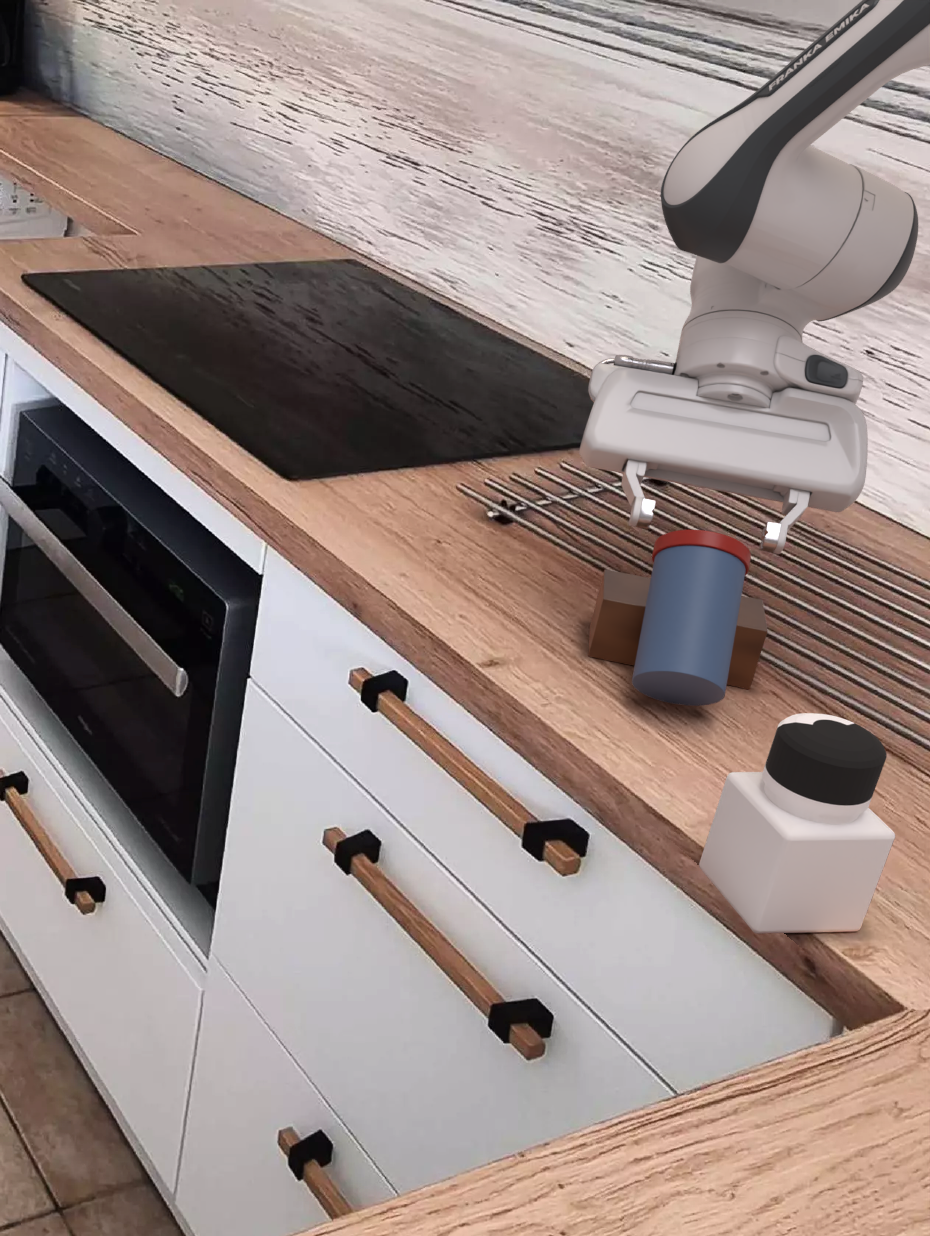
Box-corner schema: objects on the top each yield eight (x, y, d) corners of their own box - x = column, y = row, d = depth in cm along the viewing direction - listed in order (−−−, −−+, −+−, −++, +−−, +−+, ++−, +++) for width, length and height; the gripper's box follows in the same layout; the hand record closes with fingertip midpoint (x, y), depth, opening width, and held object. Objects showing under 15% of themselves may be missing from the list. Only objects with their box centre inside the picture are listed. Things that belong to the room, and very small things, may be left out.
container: (712, 668, 135) (756, 518, 129) (719, 739, 124) (768, 579, 118) (622, 650, 136) (662, 501, 131) (621, 719, 125) (665, 560, 120)
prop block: (745, 656, 137) (763, 599, 134) (749, 689, 132) (768, 631, 129) (589, 625, 139) (604, 568, 137) (588, 656, 134) (603, 598, 132)
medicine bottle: (862, 933, 104) (926, 761, 98) (753, 936, 102) (812, 762, 97) (798, 865, 110) (856, 700, 104) (695, 867, 109) (748, 699, 103)
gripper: (602, 330, 132) (568, 493, 128) (886, 377, 128) (860, 547, 124) (589, 370, 138) (557, 527, 134) (861, 416, 133) (835, 580, 130)
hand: (705, 537), depth 129 cm, fingers open, 8 cm apart
